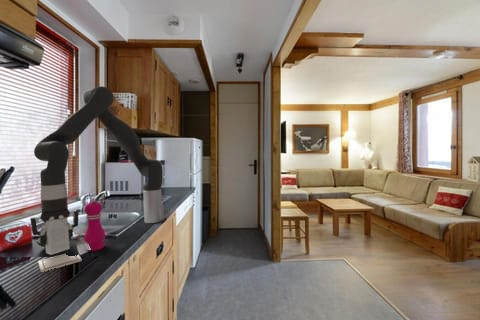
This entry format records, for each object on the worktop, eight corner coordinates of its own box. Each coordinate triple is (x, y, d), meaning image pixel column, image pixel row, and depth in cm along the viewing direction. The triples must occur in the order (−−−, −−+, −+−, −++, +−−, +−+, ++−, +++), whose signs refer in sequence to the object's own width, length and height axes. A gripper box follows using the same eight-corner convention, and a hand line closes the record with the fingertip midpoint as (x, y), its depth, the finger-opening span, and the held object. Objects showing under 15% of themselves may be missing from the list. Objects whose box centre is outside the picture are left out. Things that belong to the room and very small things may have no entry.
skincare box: (64, 246, 91) (62, 215, 90) (69, 249, 89) (68, 217, 88) (44, 253, 86) (42, 220, 85) (50, 255, 83) (48, 221, 83)
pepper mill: (80, 249, 94) (77, 199, 93) (98, 243, 100) (96, 195, 99) (91, 253, 90) (88, 200, 89) (109, 246, 97) (107, 197, 96)
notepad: (75, 252, 91) (75, 250, 91) (81, 260, 84) (81, 258, 84) (38, 262, 83) (38, 260, 83) (41, 272, 76) (41, 270, 76)
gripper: (75, 192, 94) (78, 234, 95) (27, 198, 84) (30, 245, 85) (80, 195, 89) (82, 239, 89) (28, 201, 79) (31, 251, 79)
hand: (57, 241), depth 87 cm, fingers closed on skincare box, 6 cm apart
